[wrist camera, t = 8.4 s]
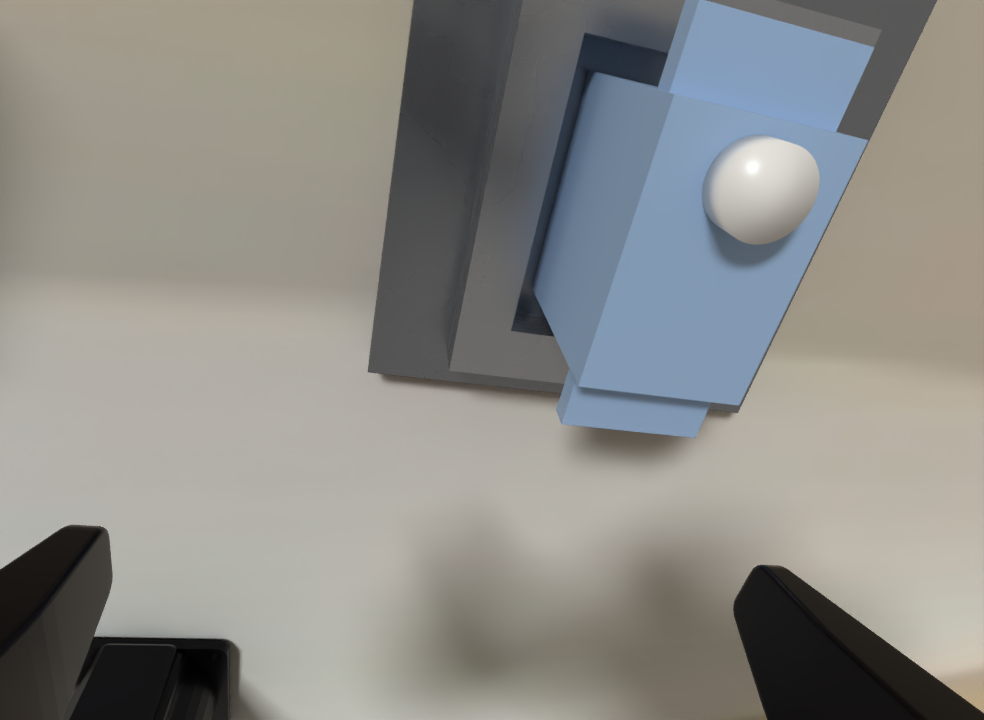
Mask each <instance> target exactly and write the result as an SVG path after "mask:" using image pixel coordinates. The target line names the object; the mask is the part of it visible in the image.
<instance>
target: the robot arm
mask: <svg viewBox="0 0 984 720" xmlns="http://www.w3.org/2000/svg"><path fill="white" fill-rule="evenodd" d="M112 576H113V575H112V563H111V551H110V540H109V534H108V531H107V530H106V529H105V528H104V527H101V526H86V525H68V526H66V527H63V528H61V529H60V530H58V531H57V532H55V533H54V534H52V535H51V536H49V537H48V538H46V539H45V540H43V541H42V542H40V543H39V544H37V545H36V546H34V547H33V548H31V549H30V550H28V551H27V552H25V553H24V554H23V555H21V556H20V557H18V558H17V559H15V560H14V561H12V562H11V563H9V564H8V565H6V566H5V567H3V568H2V569H0V720H230V647H229V645H228V644H227V643H225V642H223V641H218V640H159V639H97V638H93V636H94V634H95V631H96V628H97V626H98V623H99V620H100V617H101V615H102V612H103V609H104V607H105V604H106V601H107V599H108V596H109V593H110V589H111V584H112ZM733 611H734V617H735V621H736V624H737V627H738V630H739V634H740V637H741V640H742V643H743V646H744V649H745V652H746V656H747V659H748V662H749V665H750V668H751V671H752V675H753V678H754V681H755V684H756V687H757V690H758V693H759V697H760V700H761V703H762V706H763V709H764V712H765V714H766V717H767V720H984V713H983V712H981V711H980V710H979V709H977V708H976V707H975V706H973V705H972V704H970V703H969V702H968V701H966V700H965V699H964V698H962V697H961V696H960V695H958V694H957V693H955V692H954V691H953V690H951V689H950V688H949V687H947V686H946V685H945V684H943V683H942V682H940V681H939V680H938V679H936V678H935V677H934V676H932V675H931V674H930V673H928V672H927V671H925V670H924V669H923V668H921V667H920V666H919V665H917V664H916V663H915V662H913V661H912V660H910V659H909V658H908V657H906V656H905V655H904V654H902V653H901V652H900V651H898V650H897V649H896V648H894V647H893V646H891V645H890V644H889V643H887V642H886V641H885V640H883V639H882V638H881V637H879V636H878V635H876V634H875V633H874V632H872V631H871V630H870V629H868V628H867V627H866V626H864V625H863V624H861V623H860V622H859V621H857V620H856V619H855V618H853V617H852V616H851V615H849V614H848V613H846V612H845V611H844V610H842V609H841V608H840V607H838V606H837V605H836V604H834V603H833V602H832V601H830V600H829V599H827V598H826V597H825V596H823V595H822V594H821V593H819V592H818V591H817V590H815V589H814V588H812V587H811V586H810V585H808V584H807V583H806V582H804V581H803V580H802V579H800V578H799V577H797V576H796V575H795V574H793V573H792V572H791V571H789V570H788V569H786V568H784V567H781V566H774V565H758V566H756V567H754V568H753V570H752V571H751V573H750V574H749V576H748V578H747V579H746V581H745V583H744V585H743V586H742V588H741V590H740V592H739V593H738V595H737V597H736V599H735V601H734V606H733Z"/></svg>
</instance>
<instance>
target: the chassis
mask: <svg viewBox="0 0 984 720" xmlns="http://www.w3.org/2000/svg"><path fill="white" fill-rule="evenodd" d="M706 1H710V2H714V3H717V4H721V5H724V6H728V7H731V8H735V9H739V10H742V11H746V12H749V13H753V14H757V15H760V16H764V17H767V18H771V19H775V20H778V21H782V22H785V23H789V24H792V25H796V26H800V27H803V28H807V29H810V30H814V31H818V32H821V33H825V34H828V35H832V36H836V37H839V38H843V39H846V40H850V41H854V42H857V43H861V44H864V45H868V46H871V47H875V48H874V50H873V52H872V54H871V57H870V59H869V61H868V63H867V65H866V67H865V70H864V72H863V74H862V76H861V78H860V81H859V83H858V85H857V87H856V89H855V91H854V94H853V96H852V98H851V100H850V102H849V104H848V107H847V109H846V111H845V113H844V115H843V118H842V120H841V122H840V124H839V126H838V128H837V131H836V132H839V133H842V134H846V135H850V136H854V137H858V138H861V139H865V140H868V142H869V140H870V138H871V136H872V134H873V132H874V130H875V128H876V126H877V124H878V122H879V120H880V118H881V115H882V113H883V111H884V109H885V107H886V105H887V103H888V101H889V99H890V97H891V95H892V93H893V91H894V89H895V86H896V84H897V82H898V80H899V78H900V76H901V74H902V72H903V70H904V68H905V66H906V64H907V62H908V60H909V58H910V55H911V53H912V51H913V49H914V47H915V45H916V43H917V41H918V39H919V37H920V35H921V33H922V31H923V29H924V26H925V24H926V22H927V20H928V18H929V16H930V14H931V12H932V10H933V8H934V6H935V4H936V2H937V0H706ZM684 3H685V0H414V2H413V10H412V18H411V26H410V34H409V42H408V50H407V58H406V66H405V74H404V82H403V90H402V98H401V106H400V114H399V122H398V131H397V139H396V147H395V155H394V163H393V171H392V179H391V187H390V195H389V203H388V211H387V219H386V227H385V235H384V243H383V251H382V259H381V267H380V276H379V284H378V292H377V300H376V308H375V316H374V324H373V332H372V340H371V348H370V356H369V366H368V372H371V373H380V374H389V375H398V376H407V377H416V378H425V379H434V380H443V381H452V382H461V383H471V384H480V385H489V386H498V387H507V388H516V389H525V390H534V391H543V392H552V393H562V390H563V387H564V384H565V380H566V377H567V374H568V371H569V366H568V364H567V362H566V359H565V357H564V355H563V353H562V351H561V349H560V347H559V345H558V342H557V340H556V338H555V336H554V334H553V332H552V330H551V328H550V325H549V323H548V321H547V319H546V317H545V315H544V313H543V311H542V308H541V306H540V304H539V302H538V300H537V298H536V296H535V294H534V291H533V289H532V287H533V283H534V279H535V275H536V271H537V268H538V264H539V260H540V256H541V252H542V248H543V245H544V241H545V237H546V233H547V229H548V226H549V222H550V218H551V214H552V210H553V206H554V203H555V199H556V195H557V191H558V187H559V184H560V180H561V176H562V172H563V168H564V164H565V161H566V157H567V153H568V149H569V145H570V142H571V138H572V134H573V130H574V126H575V122H576V119H577V115H578V111H579V107H580V103H581V100H582V96H583V92H584V88H585V84H586V80H587V77H588V73H589V70H591V71H595V72H599V73H604V74H608V75H612V76H616V77H620V78H624V79H629V80H633V81H637V82H641V83H645V84H649V85H654V86H658V85H659V82H660V79H661V76H662V73H663V69H664V66H665V63H666V60H667V57H668V54H669V50H670V47H671V44H672V41H673V38H674V35H675V31H676V28H677V25H678V22H679V19H680V16H681V12H682V9H683V6H684ZM868 142H867V144H868ZM867 144H866V146H865V148H864V150H863V152H862V154H861V156H860V158H859V161H860V159H861V157H862V155H863V153H864V151H865V149H866V147H867ZM859 161H858V163H859ZM858 163H857V165H858ZM857 165H856V167H857ZM856 167H855V169H856ZM855 169H854V171H855ZM854 171H853V173H854ZM853 173H852V175H853ZM852 175H851V177H850V179H849V181H848V183H847V185H846V187H845V189H844V191H843V193H842V195H841V197H840V200H841V198H842V196H843V194H844V192H845V190H846V188H847V186H848V184H849V182H850V180H851V178H852ZM840 200H839V202H840ZM839 202H838V204H839ZM838 204H837V206H836V208H835V210H834V212H833V214H832V216H831V218H830V220H829V222H828V224H827V226H826V228H825V230H824V232H823V234H822V236H821V239H820V241H819V243H818V245H817V247H816V249H815V251H814V253H813V255H812V257H811V259H810V261H809V263H808V265H807V267H806V269H805V271H804V273H803V275H802V278H801V280H800V282H799V284H798V286H797V288H796V290H795V292H794V294H793V296H792V298H791V300H790V302H789V304H788V306H787V308H786V310H785V312H784V314H783V317H782V319H781V321H780V323H779V325H778V327H777V329H776V331H775V333H774V335H773V337H772V339H771V341H770V343H769V345H768V347H767V349H766V351H765V353H764V356H763V358H762V360H761V362H760V364H759V366H758V368H757V370H756V372H755V374H754V376H753V378H752V380H751V382H750V384H749V386H748V388H747V390H746V392H745V395H744V397H743V399H742V401H741V403H740V405H730V404H722V403H713V402H711V405H710V407H709V409H708V410H716V411H725V412H734V413H738V411H739V409H740V407H741V405H742V403H743V401H744V399H745V397H746V395H747V393H748V391H749V389H750V387H751V385H752V382H753V380H754V378H755V376H756V374H757V372H758V370H759V368H760V366H761V364H762V362H763V360H764V358H765V356H766V353H767V351H768V349H769V347H770V345H771V343H772V341H773V339H774V337H775V335H776V333H777V331H778V329H779V327H780V324H781V322H782V320H783V318H784V316H785V314H786V312H787V310H788V308H789V306H790V304H791V302H792V300H793V298H794V296H795V293H796V291H797V289H798V287H799V285H800V283H801V281H802V279H803V277H804V275H805V273H806V271H807V269H808V267H809V264H810V262H811V260H812V258H813V256H814V254H815V252H816V250H817V248H818V246H819V244H820V242H821V240H822V238H823V236H824V233H825V231H826V229H827V227H828V225H829V223H830V221H831V219H832V217H833V215H834V213H835V211H836V209H837V207H838Z"/></svg>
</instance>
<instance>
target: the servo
mask: <svg viewBox="0 0 984 720" xmlns="http://www.w3.org/2000/svg"><path fill="white" fill-rule="evenodd" d="M874 48H875V47H871V46H868V45H864V44H861V43H857V42H854V41H850V40H846V39H843V38H839V37H836V36H832V35H828V34H825V33H821V32H818V31H814V30H810V29H807V28H803V27H800V26H796V25H792V24H789V23H785V22H782V21H778V20H775V19H771V18H767V17H764V16H760V15H757V14H753V13H749V12H746V11H742V10H739V9H735V8H731V7H728V6H724V5H721V4H717V3H714V2H710V1H706V0H685V3H684V6H683V9H682V12H681V16H680V19H679V22H678V25H677V28H676V31H675V35H674V38H673V41H672V44H671V47H670V50H669V54H668V57H667V60H666V63H665V66H664V69H663V73H662V76H661V79H660V82H659V85H658V86H654V85H649V84H645V83H641V82H637V81H633V80H629V79H624V78H620V77H616V76H612V75H608V74H604V73H599V72H595V71H591V70H589V73H588V77H587V80H586V84H585V88H584V92H583V96H582V100H581V103H580V107H579V111H578V115H577V119H576V122H575V126H574V130H573V134H572V138H571V142H570V145H569V149H568V153H567V157H566V161H565V164H564V168H563V172H562V176H561V180H560V184H559V187H558V191H557V195H556V199H555V203H554V206H553V210H552V214H551V218H550V222H549V226H548V229H547V233H546V237H545V241H544V245H543V248H542V252H541V256H540V260H539V264H538V268H537V271H536V275H535V279H534V283H533V287H532V289H533V291H534V294H535V296H536V298H537V300H538V302H539V304H540V306H541V308H542V311H543V313H544V315H545V317H546V319H547V321H548V323H549V325H550V328H551V330H552V332H553V334H554V336H555V338H556V340H557V342H558V345H559V347H560V349H561V351H562V353H563V355H564V357H565V359H566V362H567V364H568V366H569V371H568V374H567V377H566V380H565V384H564V387H563V390H562V393H561V396H560V400H559V403H558V406H557V409H556V411H557V413H558V416H559V419H560V421H561V424H566V425H575V426H585V427H595V428H604V429H614V430H624V431H633V432H643V433H653V434H662V435H672V436H682V437H691V438H695V437H696V435H697V433H698V431H699V429H700V426H701V424H702V422H703V420H704V418H705V416H706V413H707V411H708V409H709V407H710V405H711V402H713V403H722V404H730V405H740V403H741V401H742V399H743V397H744V395H745V392H746V390H747V388H748V386H749V384H750V382H751V380H752V378H753V376H754V374H755V372H756V370H757V368H758V366H759V364H760V362H761V360H762V358H763V356H764V353H765V351H766V349H767V347H768V345H769V343H770V341H771V339H772V337H773V335H774V333H775V331H776V329H777V327H778V325H779V323H780V321H781V319H782V317H783V314H784V312H785V310H786V308H787V306H788V304H789V302H790V300H791V298H792V296H793V294H794V292H795V290H796V288H797V286H798V284H799V282H800V280H801V278H802V275H803V273H804V271H805V269H806V267H807V265H808V263H809V261H810V259H811V257H812V255H813V253H814V251H815V249H816V247H817V245H818V243H819V241H820V239H821V236H822V234H823V232H824V230H825V228H826V226H827V224H828V222H829V220H830V218H831V216H832V214H833V212H834V210H835V208H836V206H837V204H838V202H839V200H840V197H841V195H842V193H843V191H844V189H845V187H846V185H847V183H848V181H849V179H850V177H851V175H852V173H853V171H854V169H855V167H856V165H857V163H858V161H859V158H860V156H861V154H862V152H863V150H864V148H865V146H866V144H867V142H868V140H865V139H861V138H858V137H854V136H850V135H846V134H842V133H839V132H836V131H837V128H838V126H839V124H840V122H841V120H842V118H843V115H844V113H845V111H846V109H847V107H848V104H849V102H850V100H851V98H852V96H853V94H854V91H855V89H856V87H857V85H858V83H859V81H860V78H861V76H862V74H863V72H864V70H865V67H866V65H867V63H868V61H869V59H870V57H871V54H872V52H873V50H874Z"/></svg>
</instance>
